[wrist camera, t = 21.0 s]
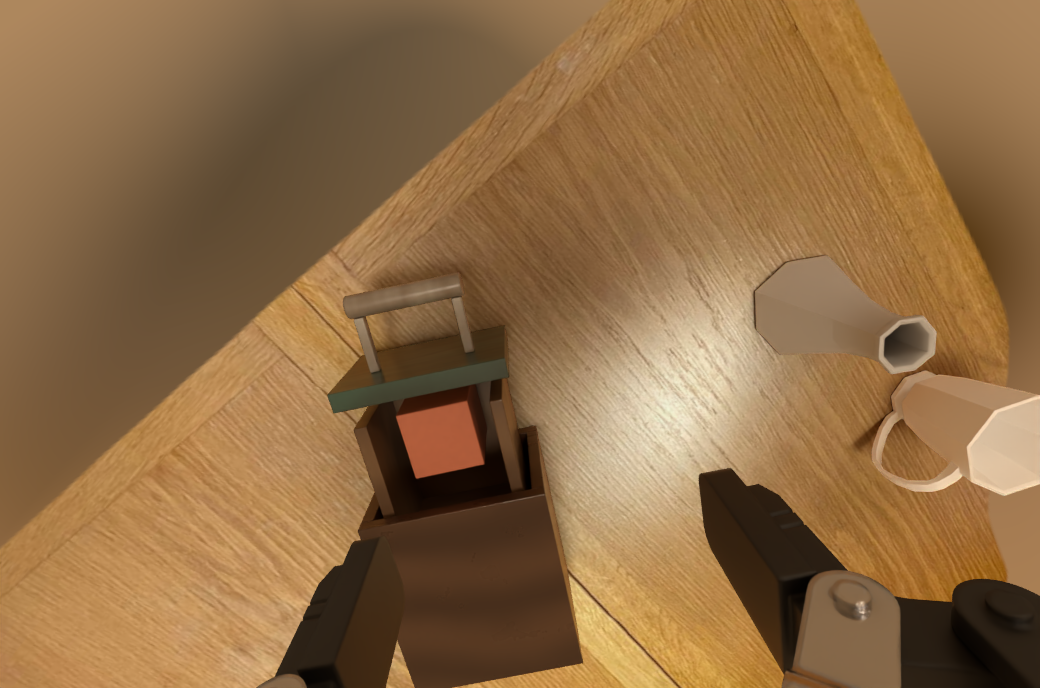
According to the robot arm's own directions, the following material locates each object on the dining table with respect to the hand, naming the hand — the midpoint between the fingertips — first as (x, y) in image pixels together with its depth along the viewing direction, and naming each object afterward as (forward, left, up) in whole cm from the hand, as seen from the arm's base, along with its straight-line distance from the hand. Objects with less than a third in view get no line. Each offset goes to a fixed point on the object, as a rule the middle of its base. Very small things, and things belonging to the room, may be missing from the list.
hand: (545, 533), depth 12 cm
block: (+3, -8, -22) cm, 24 cm away
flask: (+10, +18, -24) cm, 32 cm away
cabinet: (+13, -11, -24) cm, 29 cm away
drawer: (+2, -7, -23) cm, 24 cm away
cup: (+22, +22, -24) cm, 39 cm away
